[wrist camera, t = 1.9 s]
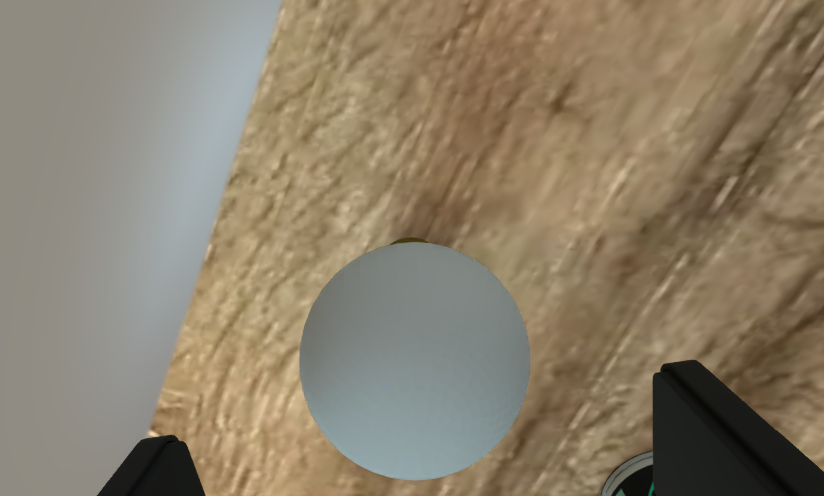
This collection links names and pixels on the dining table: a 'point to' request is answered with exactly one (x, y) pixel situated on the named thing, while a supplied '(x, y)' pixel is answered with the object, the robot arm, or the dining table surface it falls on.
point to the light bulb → (414, 360)
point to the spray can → (632, 478)
